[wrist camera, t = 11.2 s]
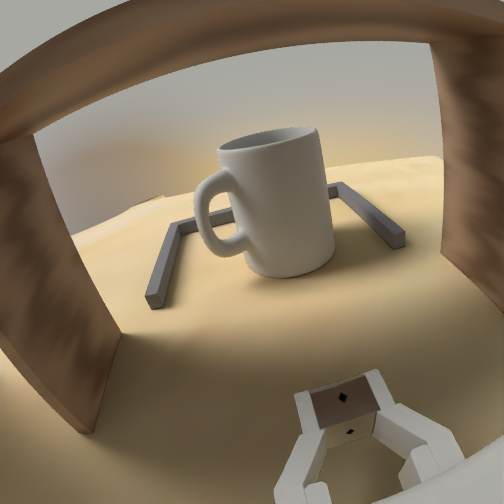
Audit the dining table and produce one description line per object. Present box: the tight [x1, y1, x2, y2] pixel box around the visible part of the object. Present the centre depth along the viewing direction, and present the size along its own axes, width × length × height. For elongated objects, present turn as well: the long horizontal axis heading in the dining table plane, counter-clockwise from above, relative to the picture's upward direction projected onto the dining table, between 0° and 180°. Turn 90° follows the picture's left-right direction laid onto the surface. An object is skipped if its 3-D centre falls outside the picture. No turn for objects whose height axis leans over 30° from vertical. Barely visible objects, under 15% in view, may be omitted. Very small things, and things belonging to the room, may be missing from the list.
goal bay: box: [145, 182, 405, 309], centre depth 32 cm, size 16×23×2 cm
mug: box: [194, 127, 335, 278], centre depth 26 cm, size 12×8×11 cm
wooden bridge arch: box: [0, 0, 504, 434], centre depth 14 cm, size 10×30×18 cm, turn 95°
